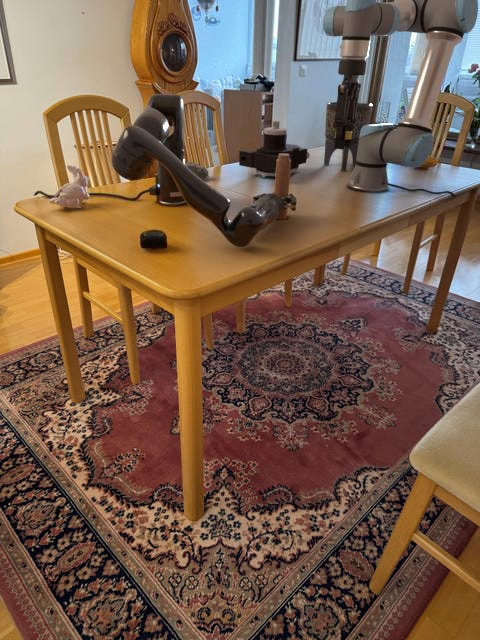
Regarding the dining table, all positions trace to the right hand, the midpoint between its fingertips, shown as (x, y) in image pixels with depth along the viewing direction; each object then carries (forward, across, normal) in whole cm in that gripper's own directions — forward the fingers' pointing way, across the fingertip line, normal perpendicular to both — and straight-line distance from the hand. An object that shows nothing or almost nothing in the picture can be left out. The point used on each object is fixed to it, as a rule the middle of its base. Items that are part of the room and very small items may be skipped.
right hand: (341, 147), depth 137 cm
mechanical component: (+20, -43, -40) cm, 62 cm away
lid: (-4, 0, 0) cm, 4 cm away
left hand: (+14, +10, -13) cm, 22 cm away
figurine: (+21, +41, -74) cm, 87 cm away
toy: (+20, -94, +10) cm, 97 cm away
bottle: (+21, +13, -13) cm, 28 cm away
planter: (+20, -72, -22) cm, 78 cm away
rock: (+20, -12, -64) cm, 68 cm away
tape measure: (+21, +55, -28) cm, 66 cm away
